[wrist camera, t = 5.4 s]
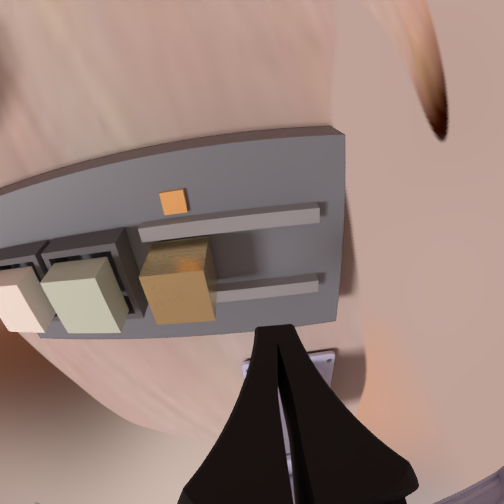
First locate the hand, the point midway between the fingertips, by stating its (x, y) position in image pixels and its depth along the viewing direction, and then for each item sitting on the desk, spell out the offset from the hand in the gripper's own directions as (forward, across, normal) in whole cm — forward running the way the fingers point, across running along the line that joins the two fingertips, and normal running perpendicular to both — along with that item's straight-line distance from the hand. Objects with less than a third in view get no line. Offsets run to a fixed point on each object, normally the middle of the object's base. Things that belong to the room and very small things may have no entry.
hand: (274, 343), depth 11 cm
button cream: (+5, +15, +1) cm, 16 cm away
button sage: (+5, +10, 0) cm, 11 cm away
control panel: (+9, +7, 0) cm, 11 cm away
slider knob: (+6, +4, 0) cm, 7 cm away
